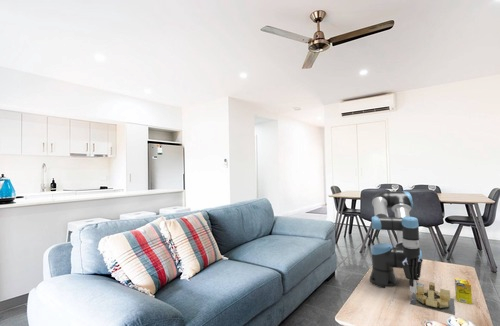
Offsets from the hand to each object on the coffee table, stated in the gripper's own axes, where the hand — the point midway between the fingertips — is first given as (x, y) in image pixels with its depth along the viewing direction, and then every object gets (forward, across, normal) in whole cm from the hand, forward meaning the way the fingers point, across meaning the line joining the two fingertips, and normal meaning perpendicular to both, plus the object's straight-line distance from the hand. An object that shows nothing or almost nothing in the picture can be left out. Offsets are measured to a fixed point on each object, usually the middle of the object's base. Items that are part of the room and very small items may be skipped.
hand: (413, 291), depth 134 cm
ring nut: (+4, +7, -5) cm, 9 cm away
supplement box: (+6, +22, -10) cm, 25 cm away
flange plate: (+5, +7, -5) cm, 10 cm away
